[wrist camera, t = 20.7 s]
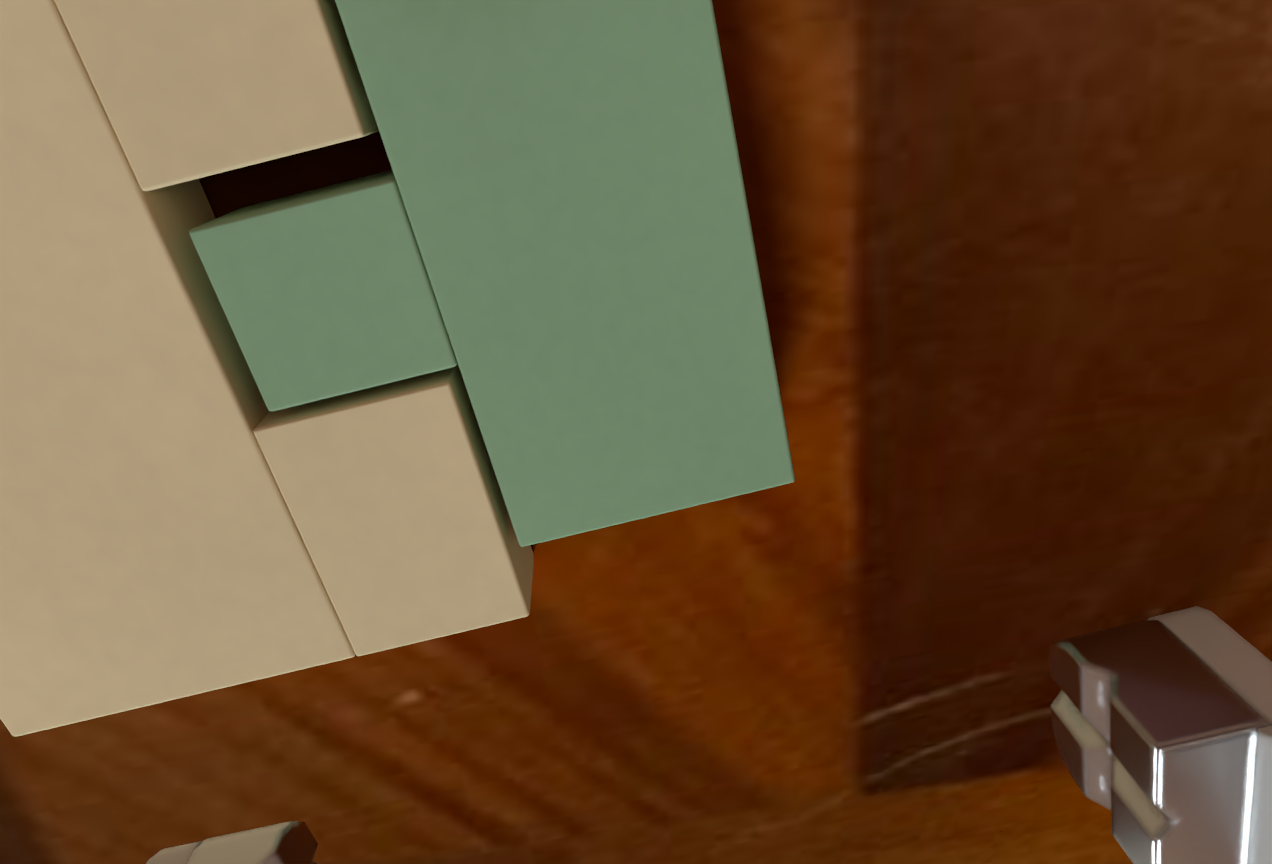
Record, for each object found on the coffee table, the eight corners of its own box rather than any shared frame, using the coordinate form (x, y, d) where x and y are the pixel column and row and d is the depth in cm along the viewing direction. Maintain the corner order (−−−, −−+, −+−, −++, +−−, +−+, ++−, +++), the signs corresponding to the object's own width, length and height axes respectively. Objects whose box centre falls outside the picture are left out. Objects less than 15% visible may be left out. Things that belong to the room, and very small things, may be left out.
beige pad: (534, 556, 21) (530, 617, 19) (72, 666, 21) (12, 739, 19) (279, -219, 14) (223, -272, 12) (-382, -44, 15) (-557, -63, 12)
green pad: (770, 435, 20) (796, 482, 18) (372, 530, 20) (347, 590, 18) (662, -157, 15) (678, -196, 13) (140, -21, 15) (66, -35, 13)
